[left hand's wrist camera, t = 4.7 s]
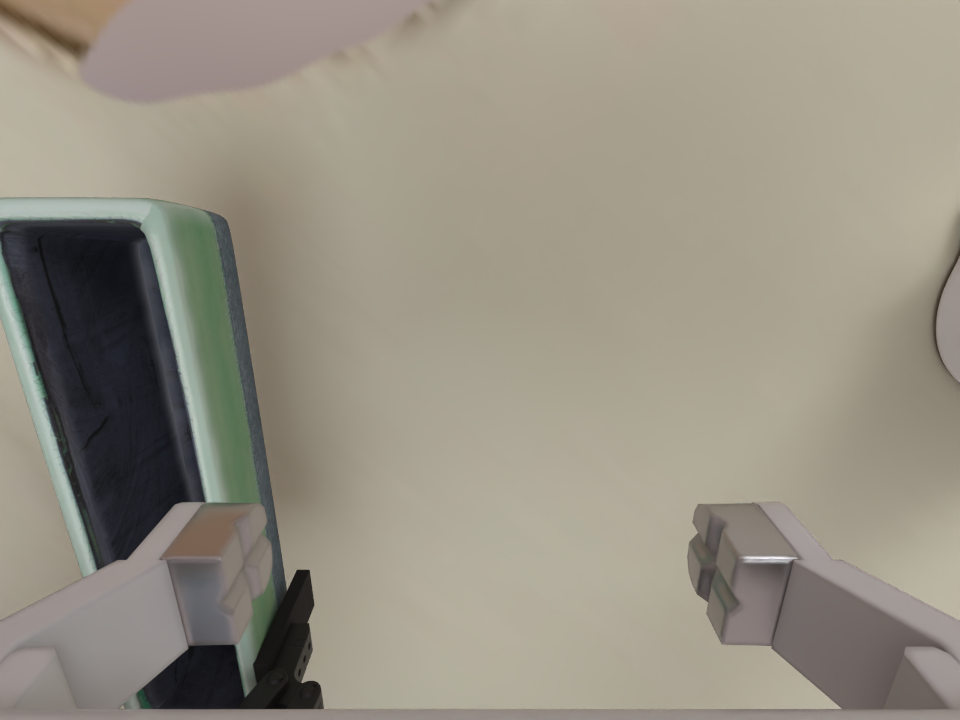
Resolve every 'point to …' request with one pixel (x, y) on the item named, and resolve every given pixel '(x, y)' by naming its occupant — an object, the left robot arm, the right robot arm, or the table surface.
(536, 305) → the table surface
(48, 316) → the planter
